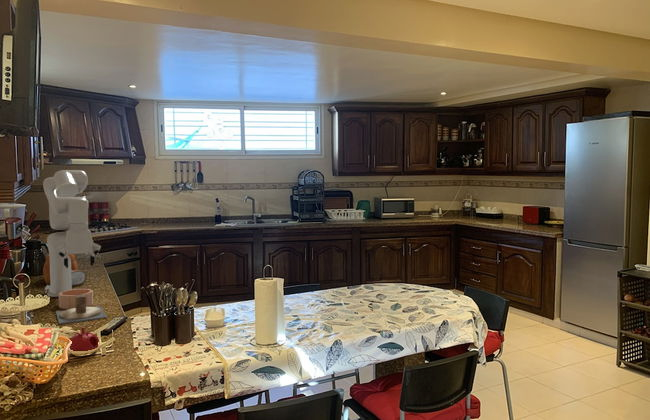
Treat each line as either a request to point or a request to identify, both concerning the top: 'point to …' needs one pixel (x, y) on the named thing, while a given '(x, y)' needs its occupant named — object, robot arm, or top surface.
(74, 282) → the tin
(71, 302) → the bowl
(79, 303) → the lid
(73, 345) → the pomegranate
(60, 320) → the mat
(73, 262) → the bread
